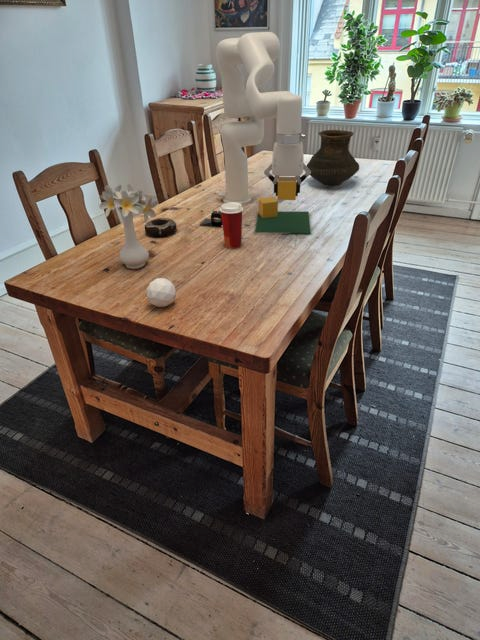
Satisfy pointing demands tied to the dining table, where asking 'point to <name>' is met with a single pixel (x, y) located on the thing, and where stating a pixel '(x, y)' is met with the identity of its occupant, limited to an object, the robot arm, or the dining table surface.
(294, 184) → the yellow block
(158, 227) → the donut
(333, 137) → the ceramic pot
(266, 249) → the dining table surface
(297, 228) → the towel
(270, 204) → the yellow block
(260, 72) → the robot arm
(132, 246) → the flower vase
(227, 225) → the paper cup
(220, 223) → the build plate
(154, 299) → the geometric ball
